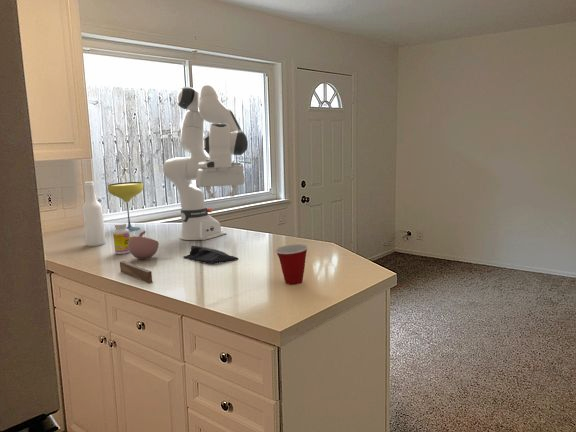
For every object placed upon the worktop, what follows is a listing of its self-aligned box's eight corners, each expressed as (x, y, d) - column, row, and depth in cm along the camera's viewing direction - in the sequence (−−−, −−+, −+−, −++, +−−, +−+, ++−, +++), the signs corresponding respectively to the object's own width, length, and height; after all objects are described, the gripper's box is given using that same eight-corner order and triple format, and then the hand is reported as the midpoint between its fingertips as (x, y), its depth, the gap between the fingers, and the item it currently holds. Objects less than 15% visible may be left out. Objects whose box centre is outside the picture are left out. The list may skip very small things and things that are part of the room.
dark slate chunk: (208, 268, 186) (207, 256, 185) (181, 258, 203) (180, 247, 202) (241, 260, 196) (241, 248, 195) (213, 251, 212) (212, 240, 212)
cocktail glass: (106, 230, 269) (101, 184, 264) (137, 225, 281) (133, 181, 276) (121, 234, 256) (116, 186, 251) (153, 228, 268) (148, 182, 263)
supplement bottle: (126, 254, 212) (123, 225, 210) (112, 254, 213) (109, 225, 211) (134, 250, 219) (131, 222, 216) (120, 250, 220) (117, 222, 218)
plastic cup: (275, 278, 168) (274, 244, 166) (307, 276, 169) (305, 242, 167) (277, 288, 158) (276, 252, 156) (311, 286, 159) (310, 250, 157)
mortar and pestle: (165, 255, 207) (162, 228, 205) (148, 263, 196) (145, 235, 194) (141, 254, 211) (138, 228, 209) (123, 261, 200) (120, 234, 198)
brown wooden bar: (124, 271, 186) (123, 260, 186) (152, 282, 170) (151, 271, 170) (120, 272, 185) (119, 261, 185) (148, 283, 169) (147, 272, 169)
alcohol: (90, 247, 229) (82, 183, 224) (83, 244, 235) (76, 182, 230) (109, 244, 234) (102, 181, 229) (102, 241, 241) (95, 180, 236)
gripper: (239, 162, 209) (240, 194, 211) (194, 163, 198) (195, 197, 200) (246, 162, 204) (247, 195, 206) (200, 163, 193) (202, 199, 195)
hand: (221, 196), depth 203 cm, fingers open, 8 cm apart
